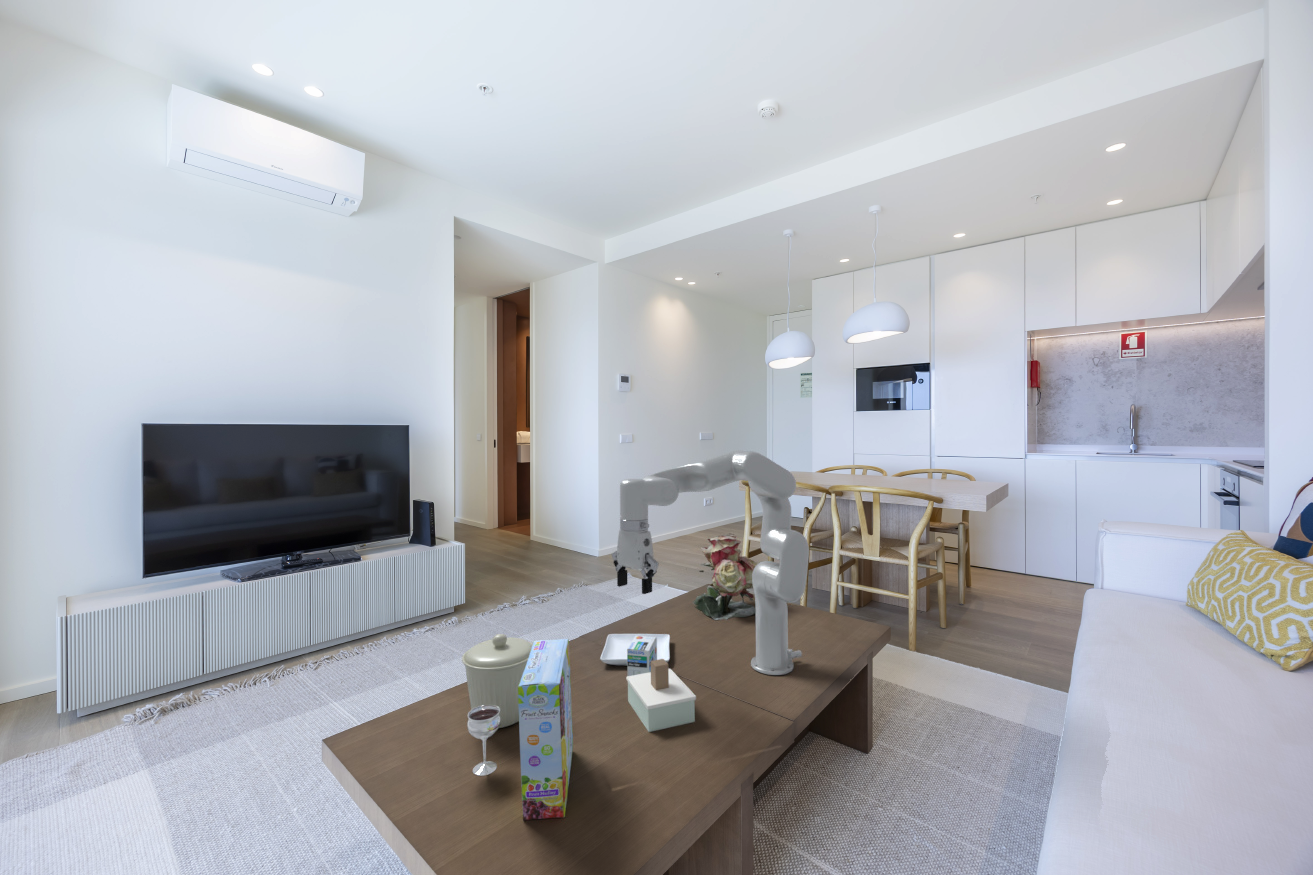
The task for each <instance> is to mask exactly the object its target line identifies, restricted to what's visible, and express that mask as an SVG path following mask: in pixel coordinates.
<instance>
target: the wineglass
mask: <svg viewBox="0 0 1313 875" xmlns="http://www.w3.org/2000/svg"><path fill="white" fill-rule="evenodd" d="M499 712H500V709H499V707H497V706H495V705H483V706H479V707H476V708H474V709H472V710H471V709H470V710H469V711H468V713H467V718H468V720H467V724H466V725H467V731H468V732H469V734H470V735H471V736H472V737H474V738H475V739H477V740H478V739H479V740H481V741H482V753H483V754H482V755H483V761H481V762H479V763H478V764H476V765H475V766H474V767H473V768H472V773H473V774H474V775H476V776H481V777H484V776H487V775H490V774H492V773H494V772H495V771H496V769H497V768H498V766H497V763H496V762H494V761H490V760H488V761H487V739H488V738H490V737H492V736H493V735H494V734H495V733H496V732H497V731H498V729H500V728H499V725H500V720H501V719H500V716H499Z"/></svg>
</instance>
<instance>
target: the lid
mask: <svg viewBox="0 0 1313 875" xmlns="http://www.w3.org/2000/svg"><path fill="white" fill-rule="evenodd" d="M625 680H626V681H627V684H628V683H629V684H630V686H631V687H632V688H633V690H634V691H635V693H636V694H637V695H638V697H639V698H640V700H641V701H642V702H643V704H644V705H645V707H646V708H647V710H648V709H653V708H658V707H663V706H667V705H672V704H677V703H682V702H686V701H691V700H694V701H696V700H697V695H695V694H694V693H693V691H692V690H691V689H690V688H689V686H688V685H686V684H685V683H684V681H682V679H680V677H679V676H678V675H677V674H676V673H675V672H674V671H673V670H672V669H671V668H669V662H666V661H665V660H664V659H659V660H654V661H651V672H649V673H643V674H638V675H632V676H628V675H627V676H626V679H625Z"/></svg>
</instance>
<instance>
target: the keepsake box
mask: <svg viewBox="0 0 1313 875" xmlns="http://www.w3.org/2000/svg"><path fill="white" fill-rule="evenodd" d="M627 700H628V703H629V705H630V706H631V708H632V709H633V711H634V712H635V714H636V715H637V717H638V718H639V720H640V721H641V723H642V724H643V726H644V727H645V729H646V730H647V732H648V733H651V732H655V731H660V730H664V729H668V728H674V727H678V726H682V725H686V724H691V723H695V722H696V719H695V718H696V717H695V716H696V714H695V713H696V711H695V708H696V707H695V700H691V701H686V702H682V703H677V704H672V705H667V706H663V707H658V708H653V709H648V710H647V708H646V707H645V705H644V704H643V702H642V701H641V700H640V698H639V697H638V695H637V694H636V693H635V691H634V690H633V688H632V687H631V686H630V684H629V683H628V682H627Z"/></svg>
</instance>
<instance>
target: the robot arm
mask: <svg viewBox="0 0 1313 875" xmlns="http://www.w3.org/2000/svg"><path fill="white" fill-rule="evenodd" d="M739 481H745V482H748V486H749V488H750V489H751V491H752V492H753V493H754V494H755V495H756V497H757V498H758V499H759V501H760V503H761V506H762V522H761V531H760V541H759V542H760V543H759V546H760V550H761V552H762V553H763V554H764V555H766V556H768V557H769V558H773V559H775V560H778V561H779V563H778V562H775V561H772V560H764V561H761V562H759V563H757V565H756V566H755V568H754V570H753V573H752V584H753V589H752V590H753V596H754V604H755V605H754V606H755V608H756V613H755V656H754V657H752V659H751V661H750V666H751V667H752V669H753V670H754V671H756V672H759V673H761V674H763V675H769V676H782V675H787V674H790V673H791V672H793V670H794V662H793V660H794V659H797V658H798V659H799V658H801V657H803V656H802V655H803V653H802V651H801V650H800V649H799V650H793V648H789V637H788V636H789V633H788V632H789V629H788V628H789V627H788V626H789V625H788V622H789V621H788V620H789V618H788V616H789V614H788V613H789V612H788V603H795V602H797V601H799V600H800V599H801V598H802V596H803V595H804V593H805V590H806V584H807V577H808V568H809V556H810V547H809V543H808V540H807V538H806V536H804V534H802V533H801V532H800V531H797V530H794V529H792V506H791V502H790V499H789V498H790V497H792V496H793V494H794V493H795V492H796V489H797V480H796V479H795V476H794V475H793V474H792V472H790V471H789V470H788V469H787V468H784V466H781V465H779V464H778V463H777V462H775V461H773V460H771V459H769V457H766V456H765V455H763V454H761V453H759V452H757V451H751V450H750V451H748V450H735V451H730V452H727V453H724V454H721V455H717V456H716V457H711V458H709V459H705V460H702V461H698V462H694V463H690V464H686V465H682V466H678V467H673V468H669V469H665V470H662V471H658V472H655V473H653V474H650V475H647V476H645V477H644V478H626V479H623V480H622V481H620V484H619V518H620V519H619V521H620V522H619V531H618V536H617V547H616V548H617V549H616V550H615V551H613V552H612V553H611V558H612V560H613V562H612V563H613V565H614V567H615V572H616V575H617V576H616V578H617V579H616V580H617V582H616V584H617V587H619V588H620V587H624V586H627V585H628V570H627V568H629V569H632V570H635V571H639V572H640V573H641V575H642V577H643V578H641V594H642V595H647V594H650V593H652V592H653V578H654V577H655V574H656V573H657V570H658V568H659V566H660V565H659V562H658V561H657V560H656V559H655V558H654V546H653V545H654V544H653V538H652V534H651V531H650V530H649V529H650V528H649V527H650V524H649V506H659V507H667V506H670V505H672V504H674V503H675V502H677V501H676V500H677V499H678V498H679V494H680V493H693V492H696V493H699V492H700V493H701V492H702V493H703V492H709V491H711V490H715V489H718V488H720V487H724V486H726V485H729V484H732V483H735V482H739Z"/></svg>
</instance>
